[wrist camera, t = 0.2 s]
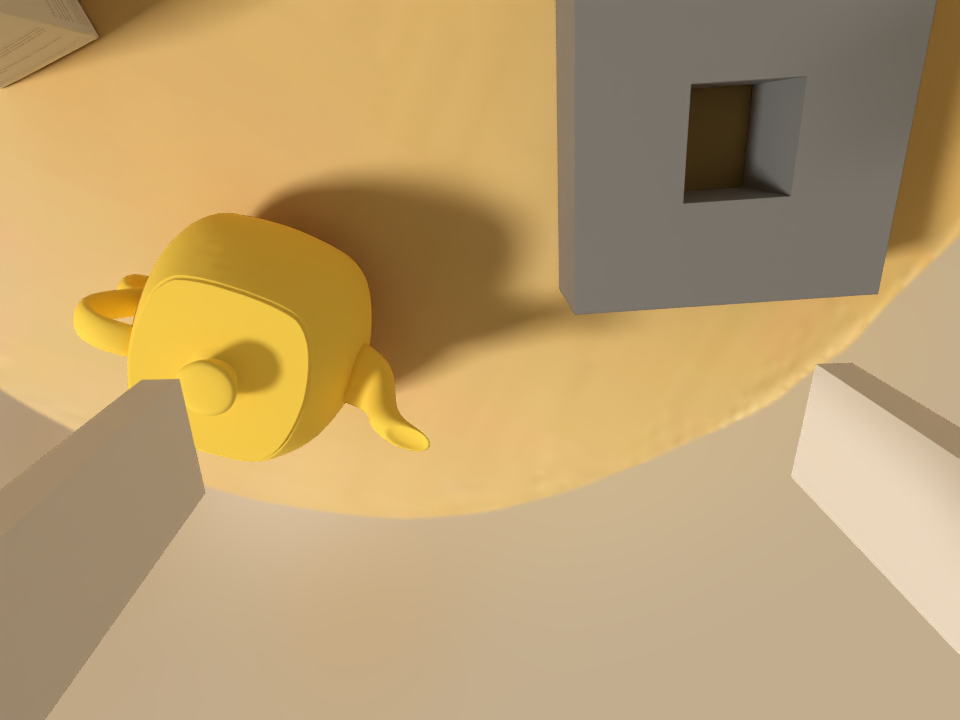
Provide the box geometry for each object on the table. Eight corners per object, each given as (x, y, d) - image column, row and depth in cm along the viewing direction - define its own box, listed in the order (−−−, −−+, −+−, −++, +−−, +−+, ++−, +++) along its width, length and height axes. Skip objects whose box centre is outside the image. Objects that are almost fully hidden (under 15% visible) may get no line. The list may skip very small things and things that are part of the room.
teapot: (171, 170, 36) (29, 189, 24) (470, 277, 39) (473, 341, 27) (138, 361, 41) (5, 455, 29) (408, 443, 44) (387, 559, 32)
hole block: (555, -17, 33) (574, -48, 27) (868, -38, 33) (951, -73, 27) (559, 289, 40) (574, 314, 34) (819, 271, 40) (877, 294, 34)
